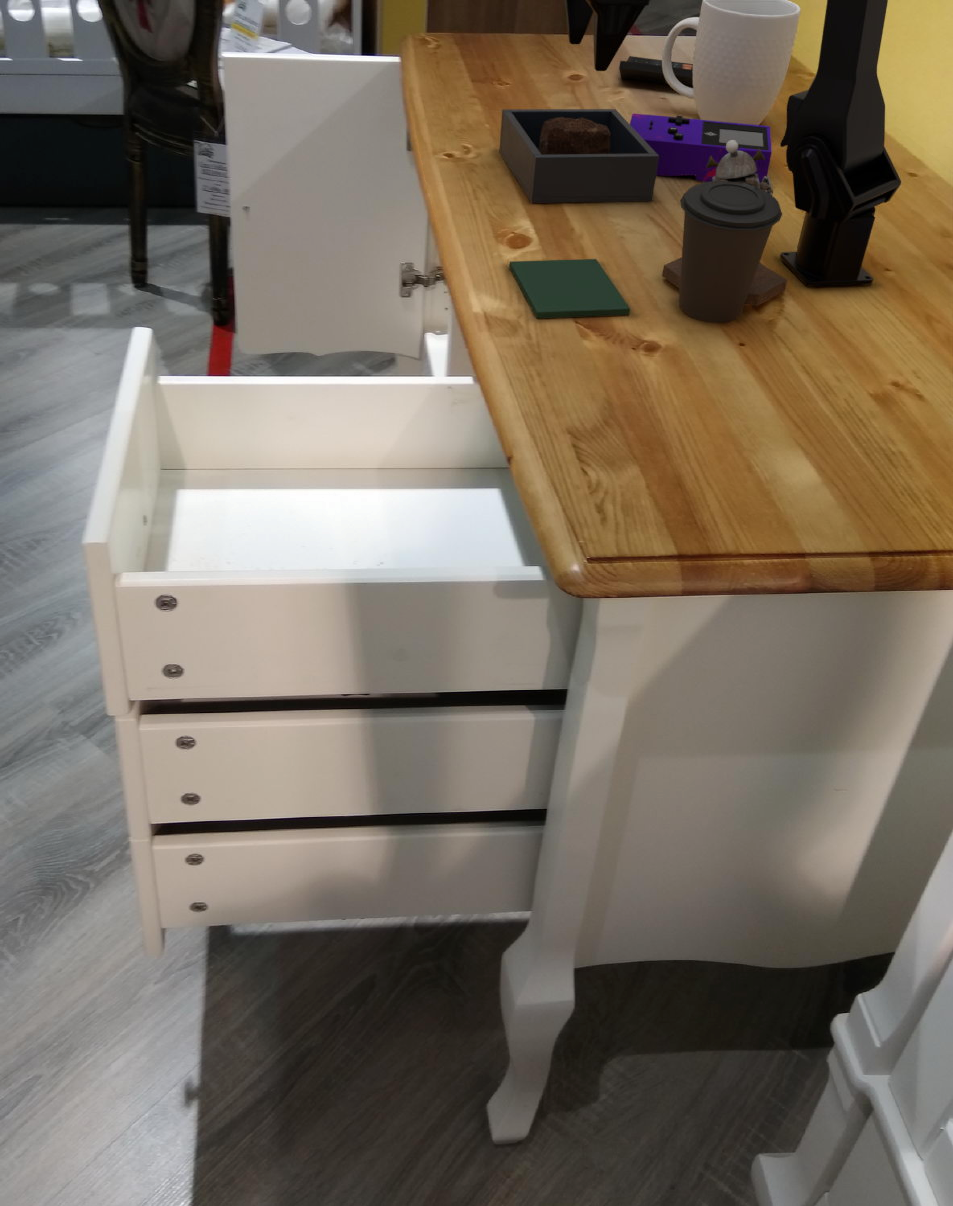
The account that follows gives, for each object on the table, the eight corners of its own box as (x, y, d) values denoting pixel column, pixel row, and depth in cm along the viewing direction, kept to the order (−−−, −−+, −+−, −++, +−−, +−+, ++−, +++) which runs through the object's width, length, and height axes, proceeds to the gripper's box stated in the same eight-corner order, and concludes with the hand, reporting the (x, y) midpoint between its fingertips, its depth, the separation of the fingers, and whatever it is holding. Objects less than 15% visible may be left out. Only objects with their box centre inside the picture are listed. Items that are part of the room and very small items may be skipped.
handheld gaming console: (633, 108, 128) (770, 121, 127) (627, 157, 132) (761, 170, 130) (626, 133, 121) (772, 148, 119) (620, 184, 124) (762, 198, 123)
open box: (652, 201, 117) (659, 156, 115) (531, 203, 115) (535, 157, 112) (610, 151, 128) (615, 108, 125) (498, 152, 126) (502, 109, 123)
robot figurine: (784, 273, 106) (816, 135, 99) (793, 310, 98) (828, 163, 91) (662, 258, 106) (685, 120, 99) (661, 294, 99) (686, 147, 92)
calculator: (698, 71, 155) (702, 47, 153) (690, 96, 146) (694, 71, 144) (628, 63, 156) (631, 38, 154) (616, 86, 147) (620, 61, 145)
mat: (629, 315, 97) (630, 308, 97) (536, 318, 95) (537, 312, 95) (595, 265, 104) (596, 258, 104) (509, 267, 103) (509, 261, 103)
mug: (638, 119, 138) (656, -2, 129) (670, 97, 145) (688, -19, 137) (760, 145, 133) (787, 21, 125) (786, 121, 141) (812, 2, 132)
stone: (605, 166, 123) (612, 117, 120) (612, 176, 121) (619, 126, 118) (534, 165, 122) (539, 116, 119) (540, 176, 120) (544, 125, 116)
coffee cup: (759, 290, 101) (786, 178, 94) (756, 337, 95) (785, 222, 89) (666, 277, 102) (686, 165, 95) (658, 323, 96) (678, 207, 90)
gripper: (498, -149, 110) (487, 30, 120) (547, -114, 96) (530, 85, 106) (611, -144, 112) (591, 31, 122) (674, -110, 98) (646, 86, 108)
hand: (587, 57), depth 114 cm, fingers open, 9 cm apart
